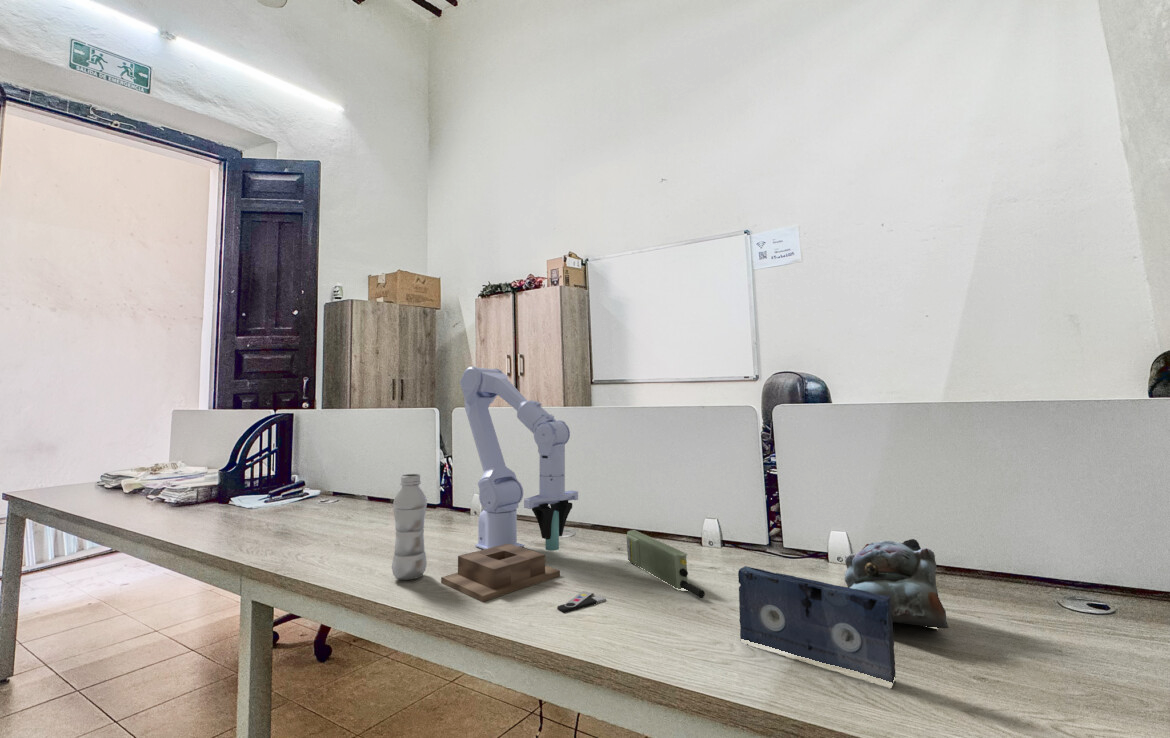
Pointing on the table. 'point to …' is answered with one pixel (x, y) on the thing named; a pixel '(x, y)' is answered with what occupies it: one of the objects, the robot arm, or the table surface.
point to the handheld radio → (660, 560)
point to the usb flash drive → (580, 602)
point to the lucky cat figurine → (899, 580)
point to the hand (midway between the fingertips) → (552, 536)
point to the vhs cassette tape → (818, 621)
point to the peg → (553, 533)
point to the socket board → (494, 593)
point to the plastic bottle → (409, 529)
